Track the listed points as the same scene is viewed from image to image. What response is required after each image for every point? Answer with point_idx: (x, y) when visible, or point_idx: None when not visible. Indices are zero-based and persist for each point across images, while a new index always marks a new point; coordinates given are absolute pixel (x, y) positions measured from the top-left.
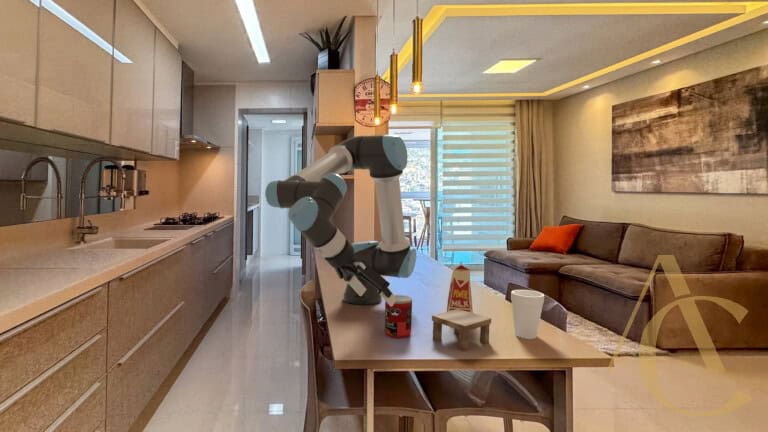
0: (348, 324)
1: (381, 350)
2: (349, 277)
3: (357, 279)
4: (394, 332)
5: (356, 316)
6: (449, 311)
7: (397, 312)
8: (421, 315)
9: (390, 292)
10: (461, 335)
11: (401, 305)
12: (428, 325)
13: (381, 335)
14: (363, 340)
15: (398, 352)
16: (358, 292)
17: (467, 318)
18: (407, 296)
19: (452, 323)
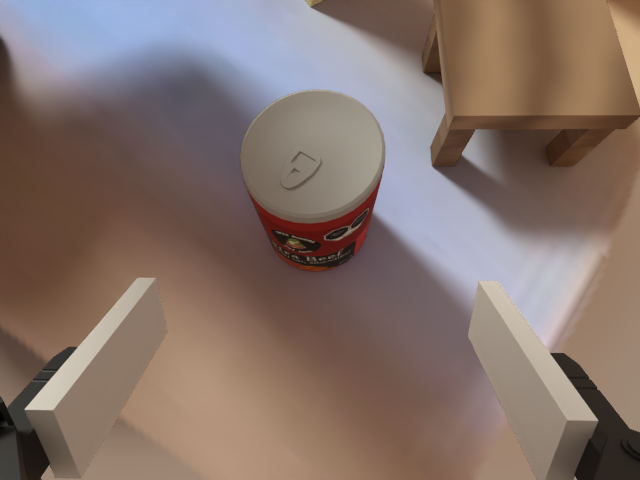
0: (97, 305)
1: (417, 394)
2: (27, 462)
3: (91, 367)
4: (345, 258)
5: (48, 214)
6: (447, 27)
7: (359, 222)
8: (221, 31)
9: (584, 379)
10: (592, 137)
11: (373, 192)
12: (316, 82)
13: (288, 283)
14: (287, 380)
15: (469, 353)
16: (149, 355)
17: (560, 40)
18: (313, 92)
19: (570, 118)
